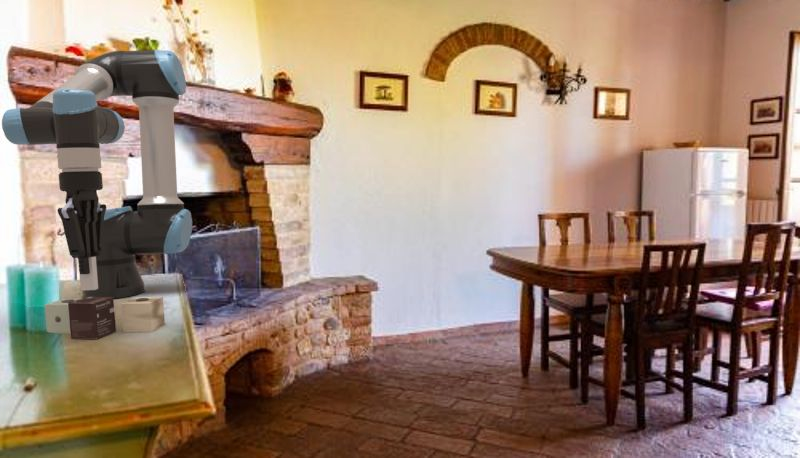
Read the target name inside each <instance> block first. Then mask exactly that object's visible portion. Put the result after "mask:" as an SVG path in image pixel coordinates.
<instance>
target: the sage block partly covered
mask: <svg viewBox="0 0 800 458" xmlns="http://www.w3.org/2000/svg"><path fill="white" fill-rule="evenodd" d="M79 299H81V298H80V297H78V298H76V297H75V298H74V297H73V298H71V297H67V298H62V299H59V300H56V301H52V302H50V303H46V304H44V312H45V313H44V315H45V323H46V333H47V332H49V333H48V334H70V335H71V333H70V321H69V309H68V303H69V302H73V301H76V300H79Z"/></svg>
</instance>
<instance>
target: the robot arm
mask: <svg viewBox="0 0 800 458" xmlns="http://www.w3.org/2000/svg"><path fill="white" fill-rule="evenodd" d="M73 72H74V73H73V76H71V77H70V78H69V79H68V80H66V81H64V82H63V83H62V84H60V85H59V86H57V87H56V88H55V89H53V90H52V91H51V92H49V93H48V94H46V95H45V96H43V97H42V98H40V99H39V100H38V101H36V102H35V103H33V104H32V105H31V106H28V107H26V108H25V107H24V108H23V107H18V108H10V109H7V110H6V111H5V112H4V113H3V115H2V118H1V126H2V131H3V133H4V137H5V138H6V139H7V140H8V141H9V142H10V143H11V144H13V145H21V146H22V145H23V146H26V145H27V146H37V145H42V146H43V145H56V153H57V154H56V158H57V168H58V169H59V170H61V171H62V172H59V173H58V182H59V183H58V186H59V190H60V191H61V192H65V193H66V194H65V195H66V196H65V205H64V206H63V207H58V209H57V214H58V216H59V218H60V219H61V222H62V227H63V232H64V235H65V240H66V243H67V247H68V253H69V255H70V256H71V257H72V259H77V261H78V262H77V263H78V273H79V284H80V291H82V299H84V298H88V297H113V300H114V299H119V298H126V297H127V298H128V297H131V296H136V295H140V294H142V293H145V291H146V289H145V282H144V280H143V278H142V275H141V272H140V271H139V268H138V265H137V263H136V256H137V255H161V254H162V255H163V254H165V255H168V254H176V253H181V252H183V251H185V250H186V249H187V247H188V246H189V245H190V241H191V237H192V231H193V218H192V213H191V211H190V210H189V209H186V208H185V206H184V205H185V203H184V202H183V201H182V200H181V199H180V198H179V197H178V183H177V182H178V181H177V161H176V160H177V159H176V138H175V136H176V135H175V114H174V109H175V107H176V106H177V105H179V103H180V96H182V95H184V94H185V93H186V89H187V82H186V75H185V72H184V68H183V66H182V63H181V61H180V59H179V57H178V55H176V53H175V52H173V51H172V50H165V49H164V50H162V49H161V50H160V49H157V48H156V49H150V50H149V49H147V50H146V49H142V50H114V51H109V52H106V53H102V54H101V55H98V56H95V57H92V58H91V59H88V60H87V61H85V62H83V63H82V64H81V65H79V66H78V67H77V68H76V69H75V71H73ZM125 96H128V97H131V100H132V103H133V104H134V105H136V106H137V107H138V116H139V134H140V136H139V137H140V157H141V158H140V159H141V161H140V162H141V178H142V198H141V200H140V201H138V203H137V205H136V206H137V208H136V209H137V211H136V210H134V211H133V208H132V207H131V206H130V205H128V206H121V207H115V208H111V209H110V208H109V209H107V205H106V203H105V204H104V203H103V204H101V203H100V201H99V196H98V193H97V191H101V190H103V187H104V185H103V173H102V172H101V171H99V169H101V168H102V160H101V149H100V148H101V146H100V145H109V144H113V143H116V142H118V141H119V140H121V138H122V137H123V135H124V134H125V128H126V127H125V123H124V120H123V118H122V116H121V115H120V114H119V113H118V112H117V111H115V110H112V109H111V108H108V107H102V106H98V102H101V101H104V100H106V99H108V98H109V97H125Z"/></svg>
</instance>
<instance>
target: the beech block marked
mask: <svg viewBox="0 0 800 458" xmlns="http://www.w3.org/2000/svg"><path fill="white" fill-rule="evenodd" d="M120 307H121V308H120V310H121V321H122V332H123V333H151V332H154V331H156V330H158V329H159V328H160V327H163V326H164V325H166V322H165V319H166V318H165V308H164V307H165V306H164V297H163V296H147V297H145V296H137V297H133V298H131V299H129V300H126V301H125V302H122V303H120Z"/></svg>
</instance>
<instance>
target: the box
mask: <svg viewBox="0 0 800 458" xmlns="http://www.w3.org/2000/svg"><path fill="white" fill-rule="evenodd" d="M68 309H69V321H70V333H71V334H70V339H71V340H72V339H73V340H74V339H75V340H98V339H101V338H103V337H106V336H108V335H111V334H113V333H116V332H117V325H116V312H115V304H114V299H113V297H88V298H80V299H79V300H76V301H73V302H69V303H68Z"/></svg>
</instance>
